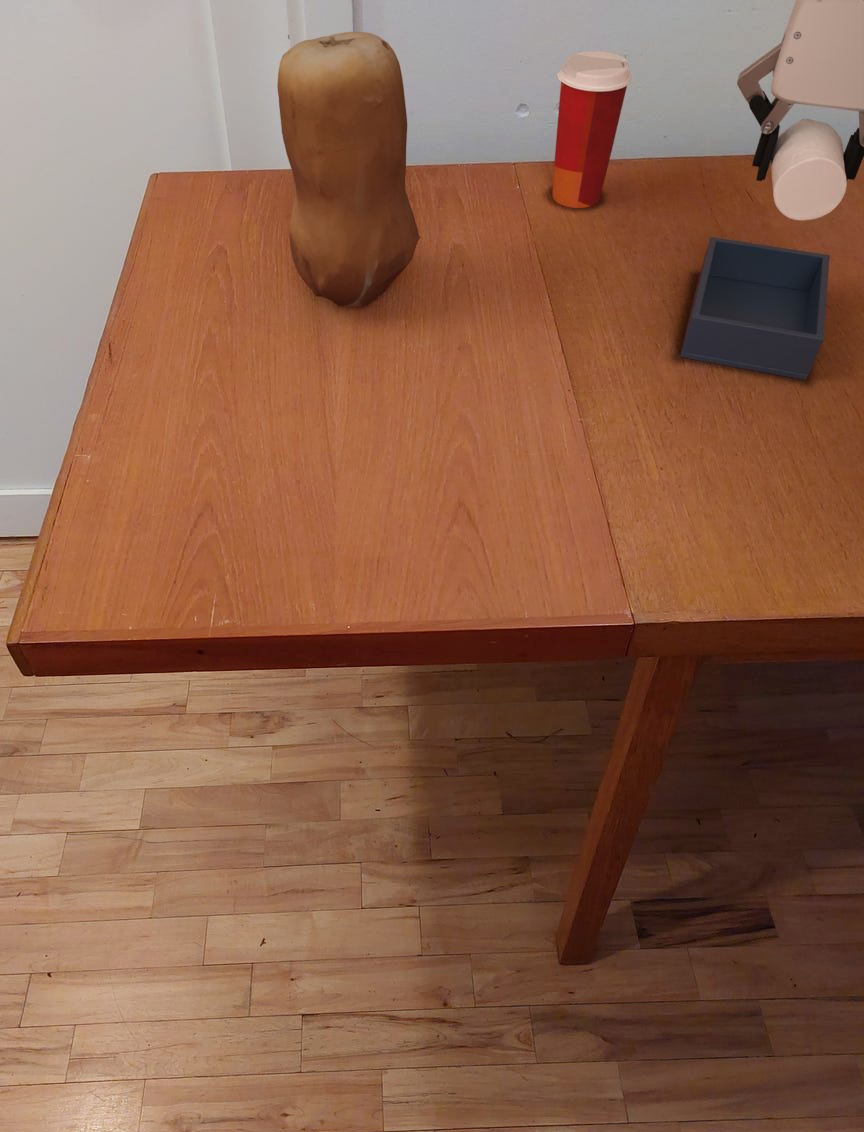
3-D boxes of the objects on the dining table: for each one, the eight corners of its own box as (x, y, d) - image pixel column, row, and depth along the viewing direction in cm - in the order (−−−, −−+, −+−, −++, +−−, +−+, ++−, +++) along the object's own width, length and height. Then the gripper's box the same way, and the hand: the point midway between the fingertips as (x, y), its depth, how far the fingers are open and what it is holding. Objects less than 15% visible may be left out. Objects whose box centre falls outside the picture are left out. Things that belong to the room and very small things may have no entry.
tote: (806, 380, 88) (823, 339, 85) (679, 357, 91) (691, 316, 87) (813, 294, 98) (829, 254, 94) (699, 276, 100) (710, 236, 97)
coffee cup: (607, 182, 114) (631, 50, 103) (610, 213, 109) (636, 78, 98) (541, 180, 115) (558, 48, 103) (542, 211, 110) (560, 76, 98)
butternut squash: (318, 256, 104) (300, 4, 84) (429, 273, 101) (438, 16, 82) (276, 321, 96) (246, 58, 76) (396, 340, 93) (398, 74, 74)
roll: (825, 164, 86) (849, 101, 82) (833, 224, 79) (859, 158, 74) (761, 158, 87) (781, 95, 83) (763, 217, 80) (785, 151, 75)
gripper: (1002, -64, 69) (898, 175, 83) (770, -83, 72) (708, 150, 86) (1010, -35, 64) (899, 213, 78) (763, -56, 68) (699, 184, 82)
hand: (799, 178), depth 82 cm, fingers closed on roll, 6 cm apart
